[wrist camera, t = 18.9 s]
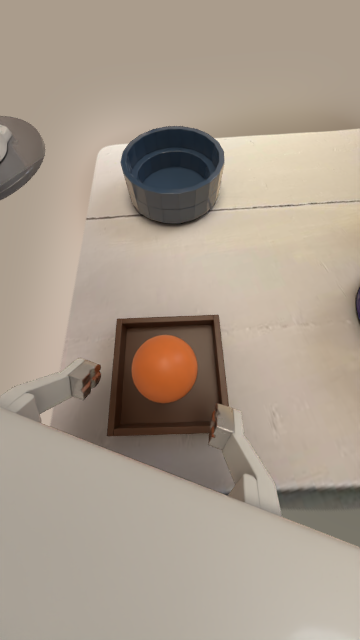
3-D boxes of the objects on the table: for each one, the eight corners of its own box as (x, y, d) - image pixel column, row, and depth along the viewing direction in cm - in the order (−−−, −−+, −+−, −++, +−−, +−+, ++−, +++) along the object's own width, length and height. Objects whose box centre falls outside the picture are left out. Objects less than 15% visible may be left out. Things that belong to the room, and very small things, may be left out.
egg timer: (136, 375, 19) (104, 371, 12) (166, 337, 20) (156, 312, 13) (174, 408, 18) (166, 429, 10) (204, 366, 19) (216, 357, 12)
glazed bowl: (113, 200, 29) (99, 164, 24) (168, 154, 32) (165, 115, 27) (181, 241, 26) (181, 210, 21) (234, 186, 29) (244, 148, 24)
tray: (116, 429, 18) (106, 436, 16) (123, 325, 22) (116, 318, 19) (225, 425, 18) (231, 432, 16) (215, 321, 22) (218, 314, 19)
